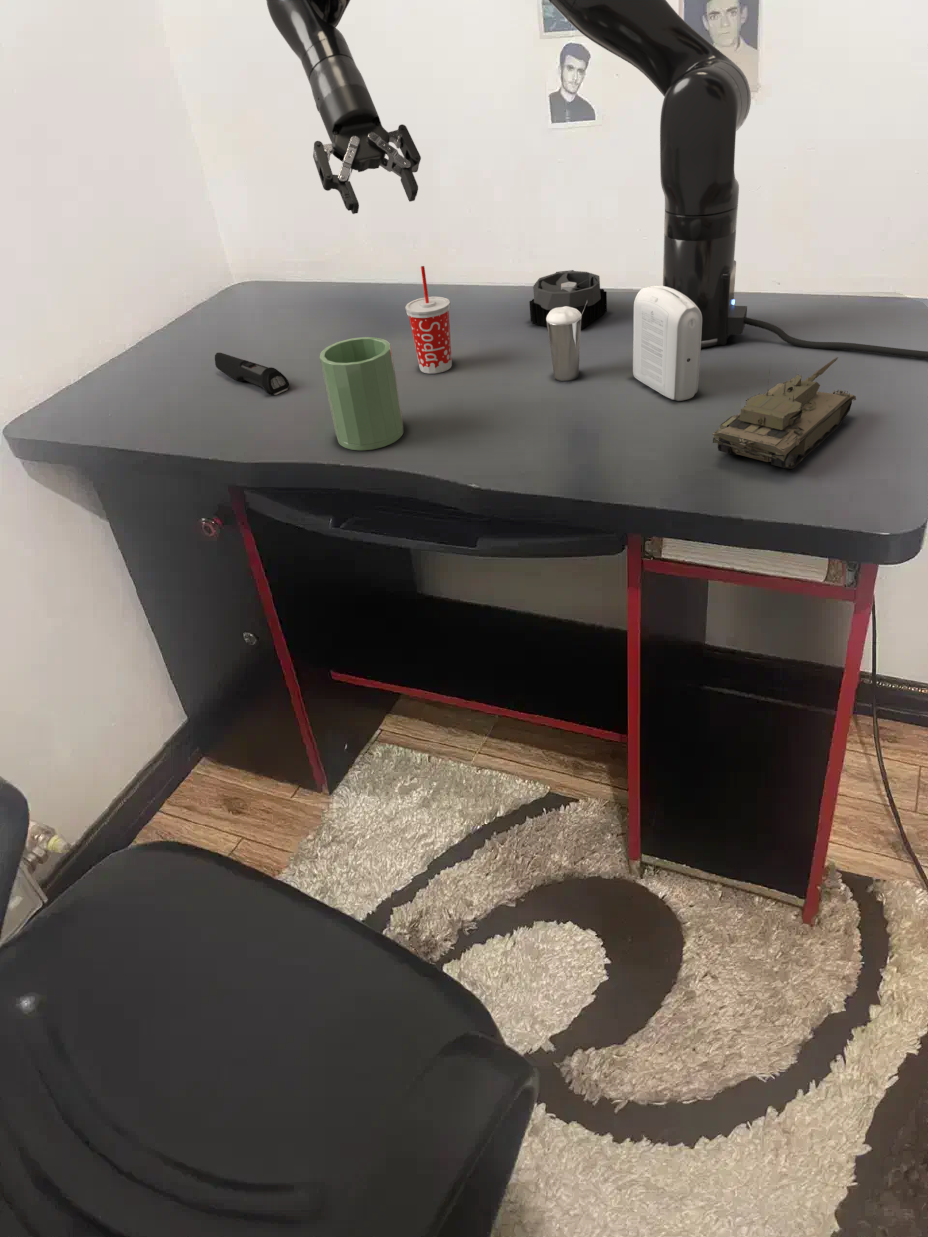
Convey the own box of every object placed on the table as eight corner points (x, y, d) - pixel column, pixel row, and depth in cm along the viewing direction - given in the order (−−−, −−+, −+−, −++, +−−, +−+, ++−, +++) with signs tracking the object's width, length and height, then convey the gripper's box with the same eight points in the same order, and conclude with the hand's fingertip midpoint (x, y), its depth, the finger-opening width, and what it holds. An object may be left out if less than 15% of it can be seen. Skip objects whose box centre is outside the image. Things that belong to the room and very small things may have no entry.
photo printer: (703, 395, 114) (709, 295, 106) (674, 404, 113) (678, 304, 105) (655, 369, 121) (657, 274, 114) (628, 378, 120) (628, 282, 113)
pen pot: (414, 422, 117) (401, 338, 110) (387, 452, 111) (371, 365, 104) (355, 418, 120) (339, 335, 113) (326, 448, 114) (307, 363, 107)
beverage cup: (407, 374, 129) (392, 273, 121) (425, 357, 134) (411, 259, 125) (447, 376, 127) (434, 274, 119) (463, 359, 131) (452, 259, 123)
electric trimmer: (233, 367, 140) (227, 346, 138) (292, 387, 130) (287, 366, 128) (212, 375, 138) (206, 355, 136) (271, 397, 128) (265, 375, 126)
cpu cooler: (579, 295, 131) (519, 288, 136) (580, 334, 134) (522, 325, 139) (614, 272, 137) (555, 266, 142) (614, 310, 140) (557, 303, 146)
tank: (702, 467, 100) (707, 380, 94) (798, 390, 112) (807, 309, 106) (777, 488, 95) (787, 398, 89) (868, 404, 107) (882, 320, 101)
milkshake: (587, 382, 120) (585, 307, 114) (547, 383, 122) (543, 308, 116) (590, 368, 124) (589, 294, 118) (551, 369, 125) (547, 296, 119)
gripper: (296, 91, 123) (339, 197, 122) (394, 73, 127) (437, 176, 125) (294, 130, 130) (334, 231, 129) (387, 112, 134) (427, 210, 133)
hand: (385, 203), depth 127 cm, fingers open, 8 cm apart
